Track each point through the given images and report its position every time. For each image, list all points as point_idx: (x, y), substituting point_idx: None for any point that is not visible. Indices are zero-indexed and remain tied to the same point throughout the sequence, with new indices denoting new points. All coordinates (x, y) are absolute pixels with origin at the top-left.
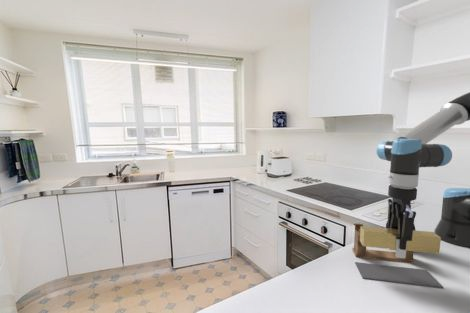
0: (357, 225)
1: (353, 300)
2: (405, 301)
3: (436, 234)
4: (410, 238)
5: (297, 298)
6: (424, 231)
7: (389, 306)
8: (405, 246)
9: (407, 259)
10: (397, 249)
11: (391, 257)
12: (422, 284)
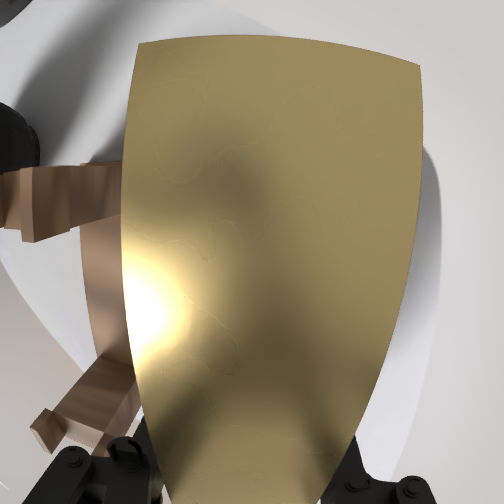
0: (50, 444)
1: (383, 444)
2: (408, 341)
3: (274, 39)
4: (425, 499)
5: None
6: (134, 217)
7: (417, 386)
8: (353, 438)
9: None
10: None
11: None
12: None
